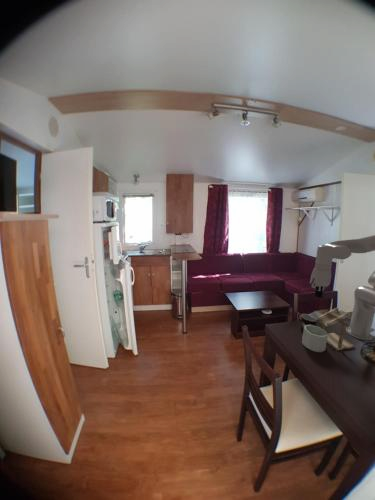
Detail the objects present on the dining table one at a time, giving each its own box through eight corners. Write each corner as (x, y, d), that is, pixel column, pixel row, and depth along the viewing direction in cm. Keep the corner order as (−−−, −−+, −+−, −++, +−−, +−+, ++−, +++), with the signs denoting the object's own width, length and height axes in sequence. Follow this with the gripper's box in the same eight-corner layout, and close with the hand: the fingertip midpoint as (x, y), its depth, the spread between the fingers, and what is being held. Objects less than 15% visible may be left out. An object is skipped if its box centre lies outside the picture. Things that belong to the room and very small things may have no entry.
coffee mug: (317, 336, 114) (320, 322, 112) (302, 334, 116) (304, 320, 114) (309, 326, 126) (311, 312, 124) (295, 324, 127) (297, 310, 125)
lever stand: (332, 333, 118) (337, 309, 115) (355, 348, 105) (361, 321, 102) (317, 336, 115) (321, 311, 112) (338, 351, 102) (343, 323, 99)
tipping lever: (331, 309, 117) (329, 301, 116) (354, 322, 104) (353, 312, 102) (308, 321, 115) (307, 312, 113) (330, 335, 102) (328, 325, 100)
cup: (312, 338, 113) (315, 323, 111) (329, 350, 103) (332, 335, 101) (297, 340, 111) (299, 325, 109) (313, 353, 100) (316, 337, 98)
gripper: (327, 264, 111) (322, 293, 115) (306, 265, 108) (302, 295, 112) (339, 267, 104) (334, 298, 108) (317, 269, 101) (313, 300, 104)
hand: (318, 296), depth 110 cm, fingers closed
